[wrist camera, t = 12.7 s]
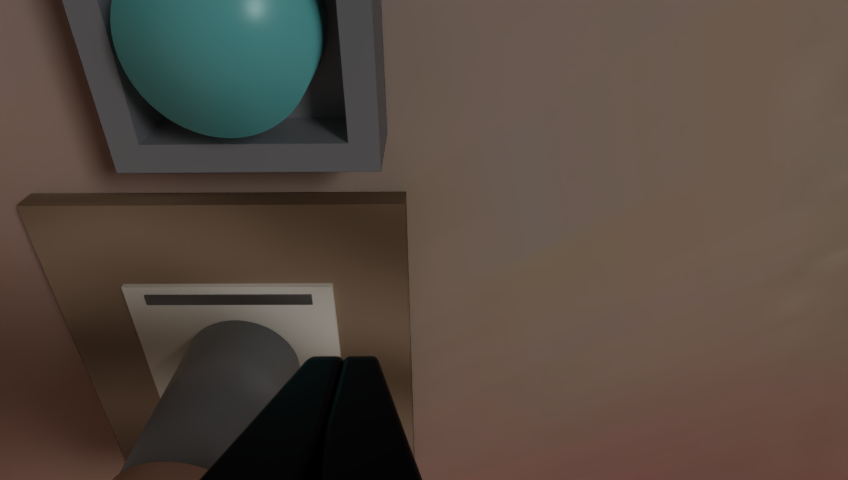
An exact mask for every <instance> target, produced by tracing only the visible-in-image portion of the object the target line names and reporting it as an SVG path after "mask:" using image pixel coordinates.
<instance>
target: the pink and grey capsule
mask: <svg viewBox="0 0 848 480" xmlns="http://www.w3.org/2000/svg"><path fill="white" fill-rule="evenodd" d="M299 368H300V365H299V360H298V357H297V355H296V353H295V351H294V349H293V348H292V347H291V345H290V344H289V343H288V342H287V341H286V340H285V339H284V338H283V337H281V336H280V335H279V334H277V333H276V332H274V331H273V330H271V329H269V328H267V327H265V326H262V325H260V324H256V323H253V322H248V321H240V320H228V321H222V322H218V323H214V324H212V325H209V326H207V327H206V328H204V329H202V330H201V331H200V332H199V333H198V334H197V335H196V336H195V337H194V338H193V340H192V342H191V343H190V345H189V347H188V349H187V351H186V353H185V354H184V356H183V358H182V360H181V362H180V364H179V365H178V367H177V369H176V371H175V373H174V375H173V376H172V378H171V380H170V382H169V384H168V386H167V387H166V389H165V391H164V393H163V395H162V397H161V398H160V400H159V402H158V404H157V406H156V408H155V409H154V411H153V413H152V415H151V417H150V419H149V420H148V422H147V424H146V426H145V428H144V430H143V431H142V433H141V435H140V437H139V439H138V441H137V442H136V444H135V446H134V448H133V450H132V452H131V453H130V455H129V457H128V459H127V461H126V463H125V464H124V466H123V468H122V470H121V472H120V473H119V474H118V475H117V476H116V477H115V478H114V479H113V480H199V479H200V478H201V477H202V476H203V475H204V474H205V473H206V472H207V471H208V469H209V468H210V467H211V466H212V465H213V464H214V463H215V462H216V461H217V459H218V458H219V457H220V456H221V455H222V454H223V453H224V452H225V450H226V449H227V448H228V447H229V446H230V445H231V444H232V443H233V442H234V440H235V439H236V438H237V437H238V436H239V435H240V434H241V433H242V432H243V430H244V429H245V428H246V427H247V426H248V425H249V424H250V423H251V421H252V420H253V419H254V418H255V417H256V416H257V415H258V414H259V413H260V411H261V410H262V409H263V408H264V407H265V406H266V405H267V404H268V403H269V401H270V400H271V399H272V398H273V397H274V396H275V395H276V394H277V392H278V391H279V390H280V389H281V388H282V387H283V386H284V385H285V384H286V382H287V381H288V380H289V379H290V378H291V377H292V376H293V375H294V374H295V372H296V371H297V370H298V369H299Z"/></svg>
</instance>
